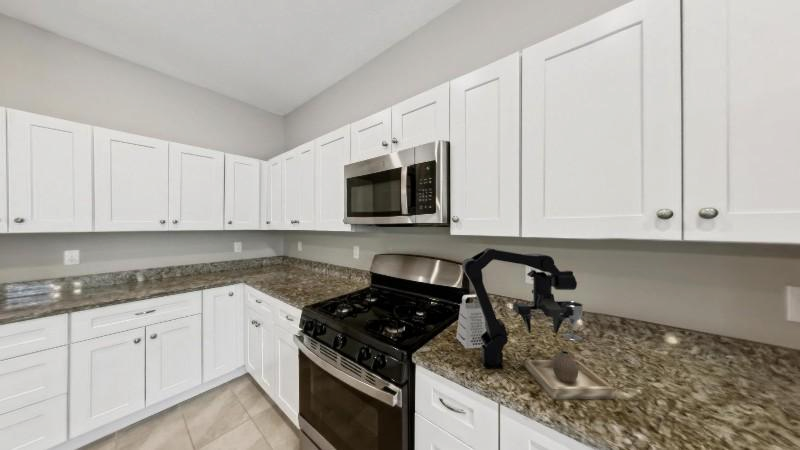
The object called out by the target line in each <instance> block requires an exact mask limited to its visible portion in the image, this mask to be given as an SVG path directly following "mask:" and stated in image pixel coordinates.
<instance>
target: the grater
mask: <svg viewBox="0 0 800 450" xmlns="http://www.w3.org/2000/svg"><path fill="white" fill-rule="evenodd" d="M468 298H477V297H476V294H475V293H474V294H464V295H463V296H462V298H461V303H460V306H459V314H458V320H457V329H456V330H457V331H456V337H455V338H456V339H457V340H458V342H459V343H460V342H461V343H460V344H461V345H462V346H463V347H464V348H465V349H466V350H467V349H476V348H478V349H479V348H482V345H484V344H483V342H482V340H481V336H482V335H483V334H484V333H485V332H486V327H485V318H484V315H483V313H482V310H481V307H480V305H479V302H478V301H477V302H467V303H466V300H467V299H468Z"/></svg>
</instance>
